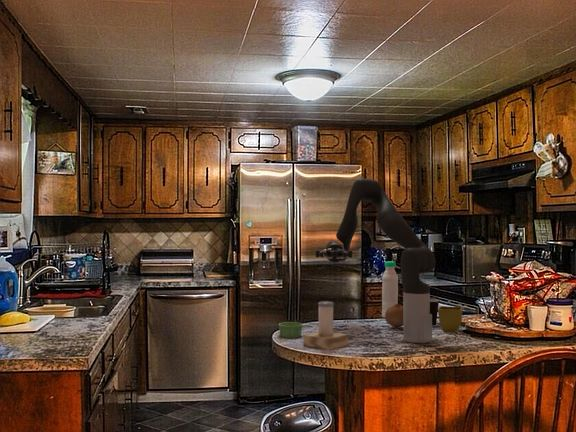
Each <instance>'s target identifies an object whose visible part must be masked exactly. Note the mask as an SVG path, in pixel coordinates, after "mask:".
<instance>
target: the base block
mask: <svg viewBox="0 0 576 432" xmlns="http://www.w3.org/2000/svg"><path fill="white" fill-rule="evenodd" d="M302 344H303V346H306V347H312V348H316V349H322V350H327V351H330V350H333V349H338V348H342V347H345V346H349V334H346V333H341V332H335V331H333V335H332V336H320V335H318V331H315V332H310V333H306V334H303V338H302Z"/></svg>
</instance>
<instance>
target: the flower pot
mask: <svg viewBox="0 0 576 432" xmlns="http://www.w3.org/2000/svg"><path fill="white" fill-rule="evenodd" d="M437 317H438V323H439V325H440V327H441V330H442V331H443V332H451V333H453V332H454V333H456V332H458V331H459V329H460V326H461V325H462V319H463V306H449V305H448V306H447V305H446V306H445V305H440V306H438V314H437Z"/></svg>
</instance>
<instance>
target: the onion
mask: <svg viewBox="0 0 576 432" xmlns="http://www.w3.org/2000/svg"><path fill="white" fill-rule="evenodd" d="M384 319H385V322H387V324H388V325H389V326H391V327H392V328H395V329H398V328H401V327H403V305H402V304H400V303H396V304H394V306H392V307H390V308H388V309H387V311H386V313H385V318H384Z"/></svg>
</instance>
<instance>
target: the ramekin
mask: <svg viewBox="0 0 576 432" xmlns="http://www.w3.org/2000/svg"><path fill="white" fill-rule="evenodd" d="M303 326H304V325H303V323H301V322H295V321H284V322H280V323H278V327H279V328H278V330H279V336H280V337H282V338H286V337H287V339H288V338H289V339H292V338H300V337H301V336H302V330H303V329H302V328H303Z"/></svg>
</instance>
